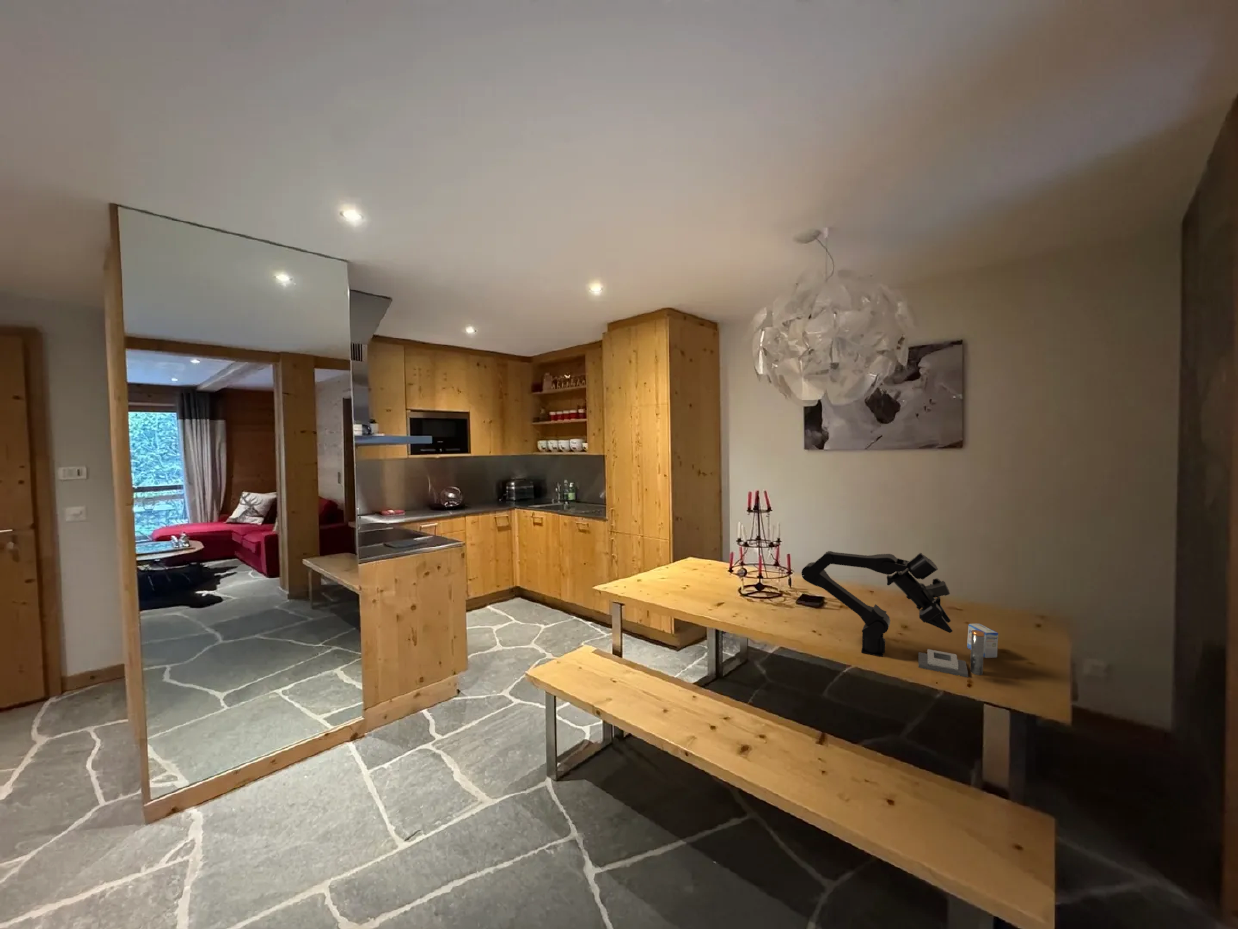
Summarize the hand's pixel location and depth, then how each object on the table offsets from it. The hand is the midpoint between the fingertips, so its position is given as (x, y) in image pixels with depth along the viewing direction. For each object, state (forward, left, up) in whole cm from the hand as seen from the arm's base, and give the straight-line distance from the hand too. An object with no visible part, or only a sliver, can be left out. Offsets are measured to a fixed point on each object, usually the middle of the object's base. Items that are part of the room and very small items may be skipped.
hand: (950, 626), depth 158 cm
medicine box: (+10, +17, -13) cm, 24 cm away
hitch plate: (-2, 0, -13) cm, 13 cm away
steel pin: (+7, 0, -13) cm, 15 cm away
